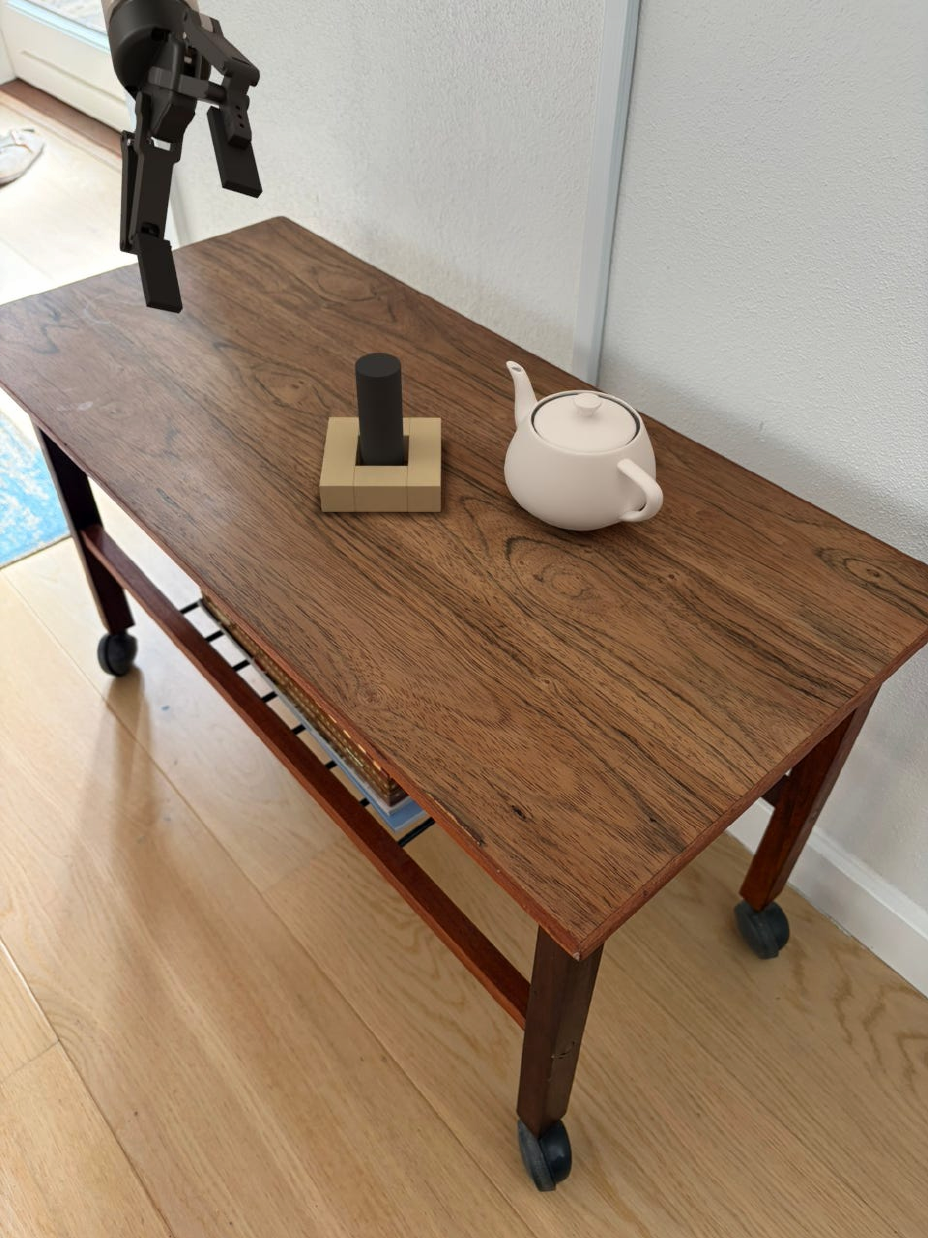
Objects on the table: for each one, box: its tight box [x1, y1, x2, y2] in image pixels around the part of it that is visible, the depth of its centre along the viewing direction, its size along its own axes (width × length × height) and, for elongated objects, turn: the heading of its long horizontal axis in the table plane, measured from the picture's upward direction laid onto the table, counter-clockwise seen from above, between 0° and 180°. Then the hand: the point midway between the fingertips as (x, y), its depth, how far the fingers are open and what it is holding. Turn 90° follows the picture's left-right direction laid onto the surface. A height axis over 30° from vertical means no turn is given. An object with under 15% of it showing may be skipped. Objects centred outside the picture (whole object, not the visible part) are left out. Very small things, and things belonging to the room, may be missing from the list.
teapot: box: [503, 360, 664, 532], centre depth 91 cm, size 22×14×11 cm, turn 33°
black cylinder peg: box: [354, 352, 406, 466], centre depth 93 cm, size 4×4×12 cm
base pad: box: [318, 416, 442, 513], centre depth 96 cm, size 11×11×3 cm
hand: (201, 252), depth 75 cm, fingers open, 13 cm apart
